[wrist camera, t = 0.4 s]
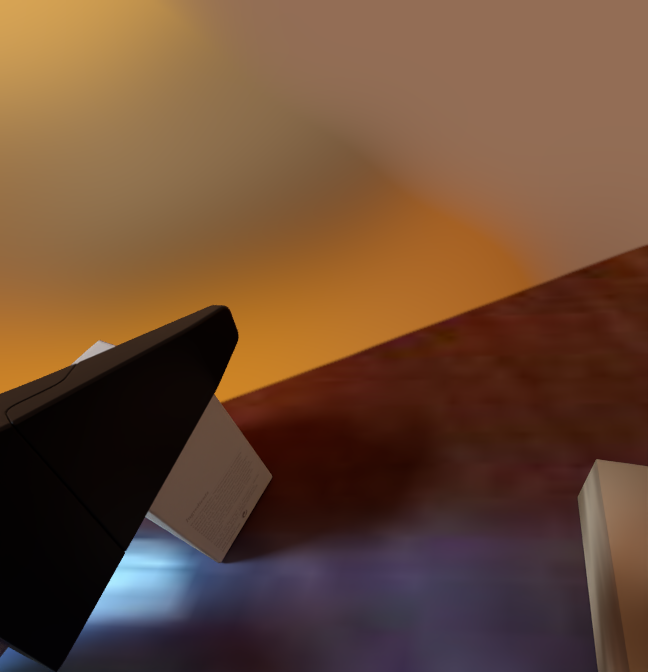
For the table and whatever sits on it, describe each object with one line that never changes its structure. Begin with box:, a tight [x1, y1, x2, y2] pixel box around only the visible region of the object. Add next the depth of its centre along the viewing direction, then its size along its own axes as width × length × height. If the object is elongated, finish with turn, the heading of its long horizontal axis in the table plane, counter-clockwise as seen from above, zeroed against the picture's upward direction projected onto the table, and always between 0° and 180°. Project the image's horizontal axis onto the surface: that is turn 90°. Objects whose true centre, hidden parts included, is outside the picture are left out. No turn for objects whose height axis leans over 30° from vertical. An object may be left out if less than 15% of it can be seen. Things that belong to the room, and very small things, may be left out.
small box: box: [72, 341, 272, 563], centre depth 22 cm, size 8×6×10 cm
